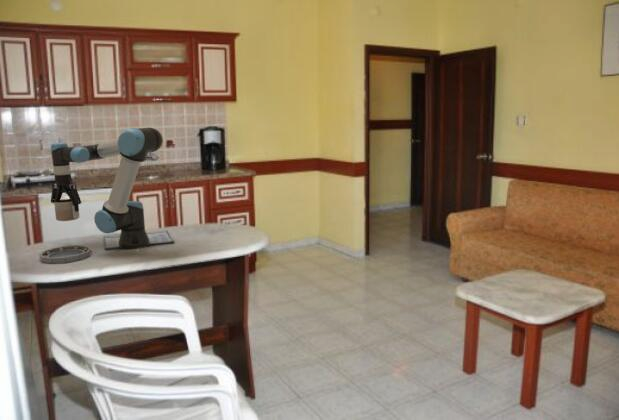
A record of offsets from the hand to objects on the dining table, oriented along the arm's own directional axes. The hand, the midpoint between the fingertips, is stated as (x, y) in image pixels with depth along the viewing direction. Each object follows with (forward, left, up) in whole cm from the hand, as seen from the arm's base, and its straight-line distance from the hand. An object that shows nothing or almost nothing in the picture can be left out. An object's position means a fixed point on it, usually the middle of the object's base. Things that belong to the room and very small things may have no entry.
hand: (67, 217), depth 263 cm
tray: (-11, +14, -16) cm, 24 cm away
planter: (0, 0, -1) cm, 1 cm away
